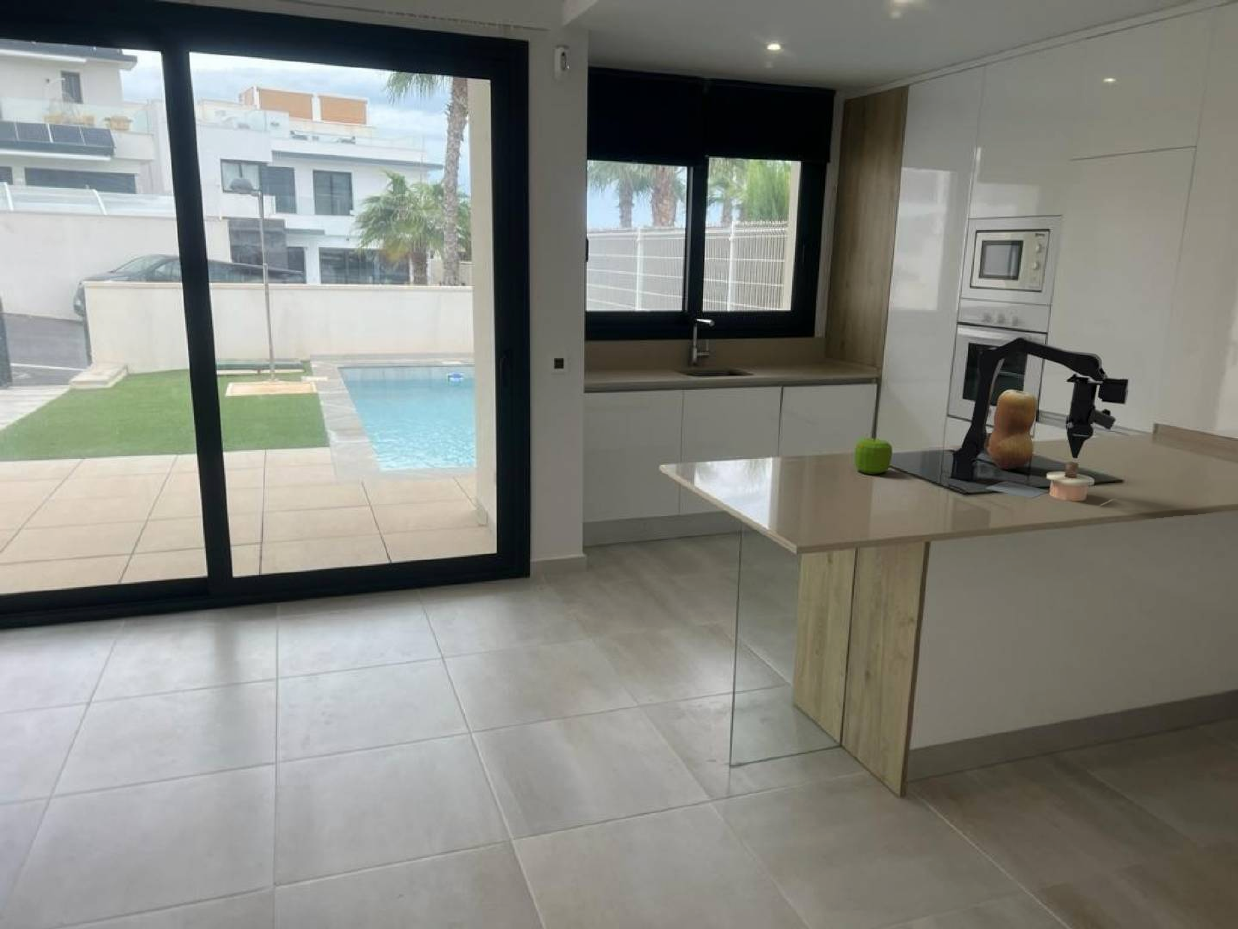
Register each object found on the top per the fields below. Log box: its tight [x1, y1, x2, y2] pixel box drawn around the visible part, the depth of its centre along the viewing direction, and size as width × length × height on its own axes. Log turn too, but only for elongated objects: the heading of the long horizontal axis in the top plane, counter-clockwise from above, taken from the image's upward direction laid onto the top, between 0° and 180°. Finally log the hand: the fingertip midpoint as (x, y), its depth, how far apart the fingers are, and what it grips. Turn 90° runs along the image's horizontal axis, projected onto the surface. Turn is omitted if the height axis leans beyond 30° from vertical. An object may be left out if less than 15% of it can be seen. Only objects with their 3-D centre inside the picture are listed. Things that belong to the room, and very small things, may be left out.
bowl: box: [1048, 481, 1089, 502], centre depth 250 cm, size 9×9×5 cm
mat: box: [985, 480, 1050, 499], centre depth 256 cm, size 13×13×1 cm
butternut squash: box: [986, 389, 1038, 471], centre depth 279 cm, size 14×13×25 cm
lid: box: [1046, 461, 1095, 487], centre depth 249 cm, size 12×12×5 cm
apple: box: [853, 437, 893, 475], centre depth 271 cm, size 11×11×11 cm
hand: (1074, 454), depth 248 cm, fingers open, 9 cm apart
